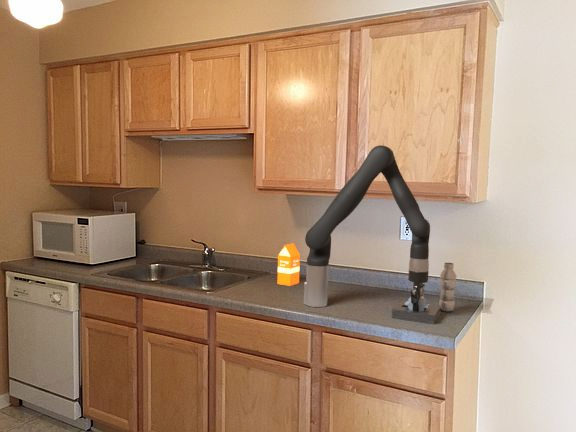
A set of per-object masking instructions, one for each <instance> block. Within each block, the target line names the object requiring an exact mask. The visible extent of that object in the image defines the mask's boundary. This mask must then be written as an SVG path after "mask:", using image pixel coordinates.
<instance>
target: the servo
mask: <svg viewBox="0 0 576 432" xmlns="http://www.w3.org/2000/svg"><path fill="white" fill-rule="evenodd" d="M414 301H416V299H414ZM404 302H405V305H408V307H407V308H409V309H410V310H413V304H412V303H411V296H410V297H409V298H408V300H407V301H404ZM430 305H431V304H430V303H427V298H425V295H423V296H421V298H420V299H419V311H421V310H423V311H425V310H426V308H428V307H429V306H430Z"/></svg>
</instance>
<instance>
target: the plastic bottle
mask: <svg viewBox="0 0 576 432" xmlns="http://www.w3.org/2000/svg"><path fill="white" fill-rule="evenodd" d="M443 265H444V266H443V268H444V269H443V270H442V271H441V273H440V276H439V277H440V296H439V301H438V306H439V307H441V311H442V312H453V311H454V310H455V308H456V302H455V286H456V281H457V274H456V272H455V271H454V265H455V264H454V263H453V262H444V264H443Z"/></svg>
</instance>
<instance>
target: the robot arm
mask: <svg viewBox="0 0 576 432" xmlns="http://www.w3.org/2000/svg"><path fill="white" fill-rule="evenodd" d="M396 160H397V159H396V157H395V155H394V151H393V149H391V148H390V147H388V146H386V145H381V144H380V145H376V146H373V148H371V150H370V151H369V153H368V154H367V155H366V157H365V159H364V161H363V162H362V164H361V165H360V167H359V169H358V170H357V171H356V172H355V173H354V174H353V175H352V176H351V178H350V179H349V180H348V181H347V182H346V183H345V184H344V185H343V187H342V188H341V189H340V190H339V192H338V193H337V195H336V196H335V197H334V198H333V200H332V202H331V203H330V204H329V205H328V206H327V209H326V210H325V212H324V213H323V215H321V217H320V218H319V219H318V220H317V221H316V222H315V223H314V224H313V226H311V228H309V230H307V232H306V234H305V238H304V240H305V244H306V246H307V247H308V248H309V252H308V255H307V257H306V281H304V283H303V284H304V286H303V305H306V306H308V307H312V308H324V307H327V306H328V300H329V299H328V295H329V294H328V293H329V268H330V267H329V263H330V259H331V250H332V249H331V248H332V233H333V232H334V230H335V229H336V228H337V227H338V226H339V225H340V224H341V223H342V222H343V221H344V220H346V219H347V217H349V216H350V215H351V214H352V213H353V212H354V211H355V209H357V207H358V206H359V205H360V203H361V202H362V201H363V199H364V197H365V196H366V194H367V192H368V190H369V189H370V187H371V185H372V183H373V182H374V180H375V179H377V177H378V176H379V175H380V174H382V176H384V178H385V180H386V182H387V184H388V186H389V188H390V190H391V194H392V196H393V198H394V201H395V203H396V205H397V206H398V208H399V210H400V212H401V214H402V215H403V218H404V219H405V222H406V225H408V227H409V230H410V232H411V245H410V250H409V252H410V253H409V260H408V261H409V262H408V281H409V282H412V283H413V285H412V286H411V289H410V297H411V303H412V304H413V310H414V311H419V299H420V298H421V296H424V294H425V293H424V292H425V286H426V285H425V283H428V281H429V270H430V267H429V266H430V264H429V263H430V262H429V257H430V256H429V253H430V252H429V251H430V246H429V244H430V234H431V224H430V222H429V220H428V219H426V218H425V216H424V215H423V213H422V211H421V210H420V209H421V208H420V206H419V203H418V202H417V199H416V198H415V196H414V195H413V192H412V191H411V189H410V187H409V186H408V185H407V183H406V180H405V179H404V177H403V175H402V173H401V171H400V169H399V166H398V164H397V161H396ZM414 299H416V301H414Z"/></svg>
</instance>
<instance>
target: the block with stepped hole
mask: <svg viewBox="0 0 576 432" xmlns="http://www.w3.org/2000/svg"><path fill="white" fill-rule="evenodd" d="M405 302H406V301H400V302H399V303H397V304H396V305H395V306H393V308H392V309H391V318H392V319H396V320H404V321H409V322H415V323H416V322H417V323H421V324H423V323H424V324H428V325H435V324H436V321H438V319H439V318H440V317H441V315H442V314H441V311H442V310H441V307H439V305H431V304H430V306H429V307H428V308H426V310H425V311H423V310H421V311H414V310H410V309H409V308H407V307H408V305H405Z"/></svg>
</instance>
